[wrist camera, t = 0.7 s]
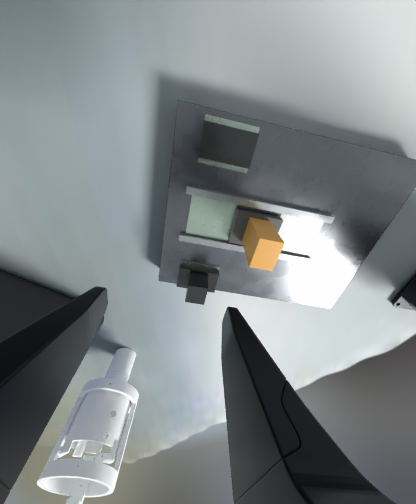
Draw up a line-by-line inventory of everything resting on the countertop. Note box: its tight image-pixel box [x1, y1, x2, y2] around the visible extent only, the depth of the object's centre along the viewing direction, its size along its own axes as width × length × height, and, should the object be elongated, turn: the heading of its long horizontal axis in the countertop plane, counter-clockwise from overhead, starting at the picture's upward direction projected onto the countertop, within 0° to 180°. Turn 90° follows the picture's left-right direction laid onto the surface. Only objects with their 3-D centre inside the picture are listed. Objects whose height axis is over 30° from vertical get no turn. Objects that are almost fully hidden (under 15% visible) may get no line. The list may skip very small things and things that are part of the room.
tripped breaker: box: [228, 208, 285, 271], centre depth 17 cm, size 4×3×5 cm
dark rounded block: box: [0, 271, 104, 342], centre depth 22 cm, size 16×5×9 cm, turn 58°
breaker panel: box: [159, 100, 416, 309], centre depth 19 cm, size 20×16×5 cm
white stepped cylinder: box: [37, 348, 139, 504], centre depth 25 cm, size 7×7×15 cm
